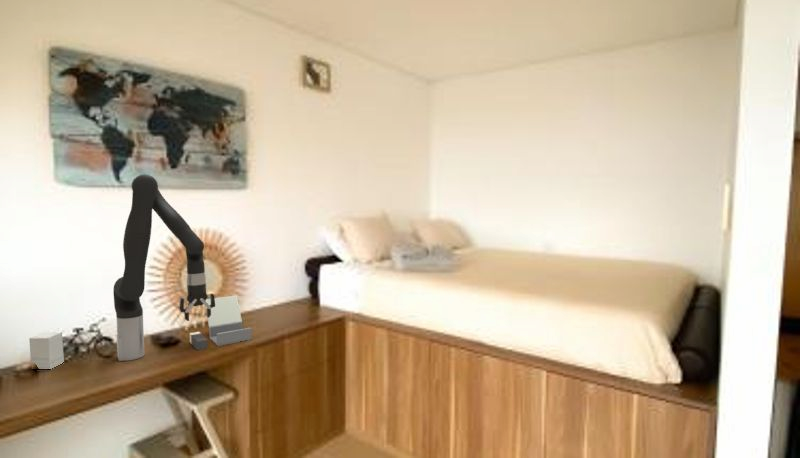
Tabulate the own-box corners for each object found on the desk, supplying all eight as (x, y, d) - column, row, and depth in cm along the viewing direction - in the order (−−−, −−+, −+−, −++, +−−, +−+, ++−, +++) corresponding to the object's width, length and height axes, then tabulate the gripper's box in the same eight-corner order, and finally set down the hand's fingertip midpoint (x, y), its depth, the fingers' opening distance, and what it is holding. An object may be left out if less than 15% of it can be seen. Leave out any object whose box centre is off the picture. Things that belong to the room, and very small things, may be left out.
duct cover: (205, 299, 209) (204, 300, 210) (209, 326, 204) (208, 327, 205) (237, 295, 218) (236, 295, 219) (241, 321, 214) (241, 321, 214)
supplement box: (64, 363, 173) (63, 331, 173) (49, 370, 166) (48, 338, 165) (46, 363, 173) (44, 331, 173) (30, 370, 166) (28, 337, 165)
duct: (217, 346, 194) (217, 334, 194) (209, 338, 205) (209, 326, 204) (251, 339, 203) (251, 328, 203) (242, 332, 214) (241, 321, 214)
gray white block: (197, 350, 189) (197, 341, 188) (189, 342, 200) (189, 333, 199) (207, 348, 191) (207, 339, 191) (199, 340, 202) (199, 331, 202)
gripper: (180, 286, 186) (182, 323, 188) (215, 282, 195) (217, 317, 196) (176, 283, 192) (178, 319, 193) (211, 279, 201) (212, 314, 202)
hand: (198, 318), depth 195 cm, fingers open, 8 cm apart
